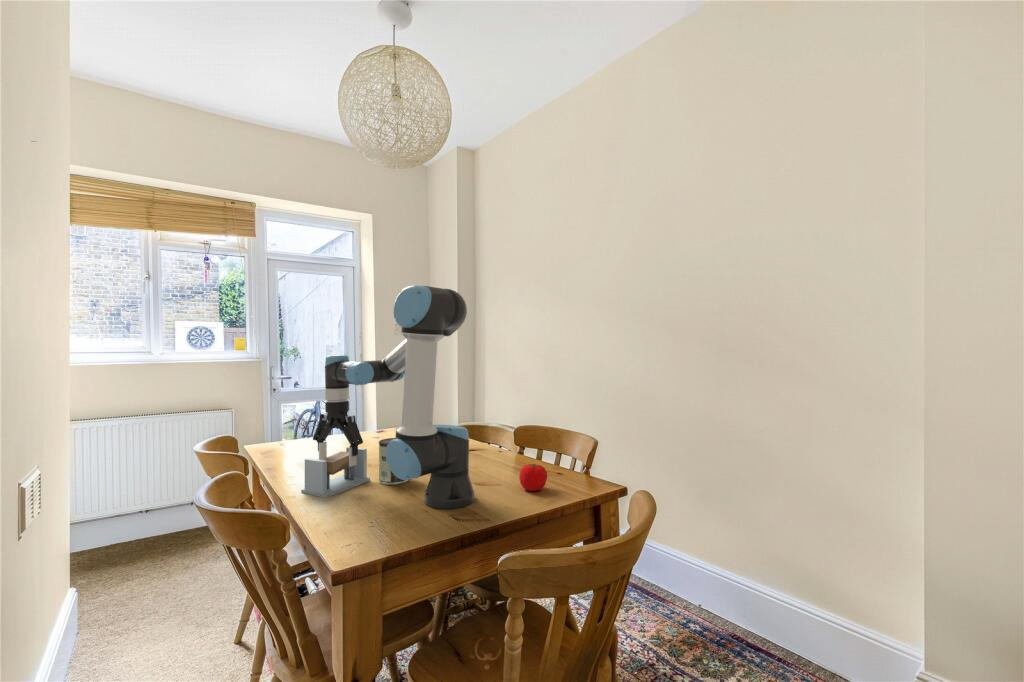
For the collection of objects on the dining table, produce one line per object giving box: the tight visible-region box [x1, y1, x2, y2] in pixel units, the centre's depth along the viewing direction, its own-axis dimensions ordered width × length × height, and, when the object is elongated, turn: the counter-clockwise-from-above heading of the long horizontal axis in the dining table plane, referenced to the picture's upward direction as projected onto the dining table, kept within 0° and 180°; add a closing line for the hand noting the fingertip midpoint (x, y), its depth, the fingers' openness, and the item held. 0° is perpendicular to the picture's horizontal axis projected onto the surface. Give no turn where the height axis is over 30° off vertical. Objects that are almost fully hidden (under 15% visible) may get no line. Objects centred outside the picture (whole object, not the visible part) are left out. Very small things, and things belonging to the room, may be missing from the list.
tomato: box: [518, 463, 548, 492], centre depth 154 cm, size 9×10×8 cm
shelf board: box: [322, 451, 349, 476], centre depth 156 cm, size 6×14×4 cm, turn 170°
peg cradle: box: [300, 446, 371, 498], centre depth 156 cm, size 11×20×11 cm, turn 155°
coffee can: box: [378, 437, 409, 486], centre depth 163 cm, size 10×10×14 cm
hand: (337, 463), depth 156 cm, fingers open, 13 cm apart
